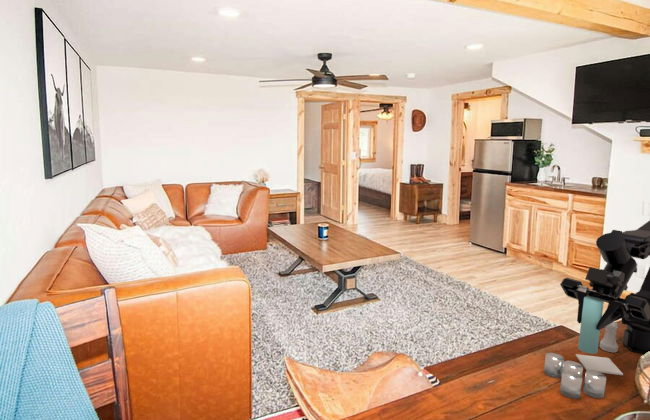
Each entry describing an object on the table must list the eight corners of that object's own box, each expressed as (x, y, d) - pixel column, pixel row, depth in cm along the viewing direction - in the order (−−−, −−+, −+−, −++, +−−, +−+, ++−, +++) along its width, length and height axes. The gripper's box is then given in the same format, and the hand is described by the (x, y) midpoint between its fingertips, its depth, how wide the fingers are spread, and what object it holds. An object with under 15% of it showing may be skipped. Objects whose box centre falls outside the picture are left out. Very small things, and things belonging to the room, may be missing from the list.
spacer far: (576, 389, 95) (578, 372, 94) (583, 400, 91) (585, 381, 90) (557, 387, 96) (559, 369, 95) (563, 397, 92) (565, 379, 91)
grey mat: (608, 359, 109) (608, 358, 109) (622, 375, 101) (623, 373, 101) (575, 355, 111) (575, 354, 111) (587, 370, 103) (587, 369, 103)
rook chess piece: (612, 346, 117) (615, 319, 115) (621, 353, 112) (625, 326, 111) (595, 345, 117) (599, 318, 116) (604, 352, 113) (608, 325, 111)
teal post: (593, 346, 101) (599, 297, 99) (600, 354, 98) (606, 303, 96) (575, 344, 102) (581, 295, 100) (581, 352, 98) (587, 301, 96)
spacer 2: (577, 378, 99) (579, 361, 99) (583, 388, 96) (585, 370, 95) (559, 376, 100) (561, 359, 100) (564, 385, 96) (566, 368, 96)
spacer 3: (599, 389, 95) (601, 371, 94) (607, 399, 91) (609, 381, 91) (580, 386, 96) (582, 369, 95) (587, 396, 92) (589, 378, 92)
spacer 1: (559, 370, 103) (560, 353, 102) (564, 378, 99) (566, 361, 99) (541, 368, 104) (543, 351, 103) (546, 376, 100) (548, 359, 100)
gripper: (568, 247, 106) (539, 295, 102) (653, 265, 90) (623, 322, 87) (580, 272, 112) (553, 318, 108) (663, 293, 96) (635, 348, 92)
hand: (587, 325), depth 98 cm, fingers closed on teal post, 4 cm apart
